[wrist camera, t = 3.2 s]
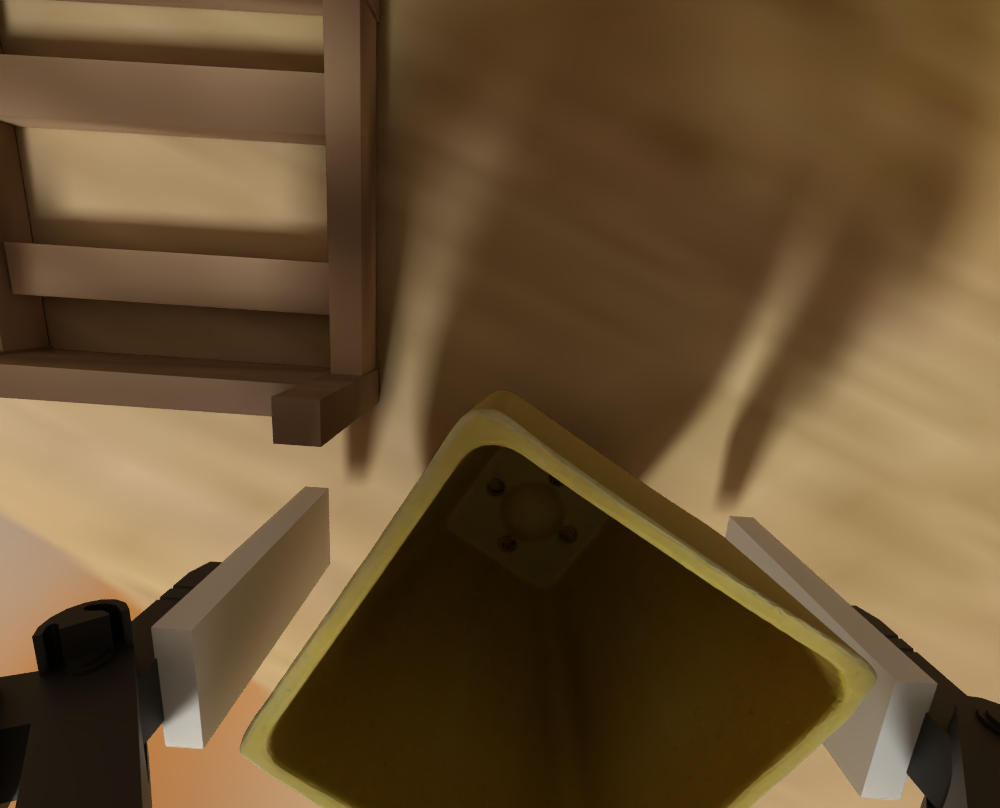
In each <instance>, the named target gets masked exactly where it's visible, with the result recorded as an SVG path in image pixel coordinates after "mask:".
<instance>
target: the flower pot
mask: <svg viewBox="0 0 1000 808" xmlns="http://www.w3.org/2000/svg"><path fill="white" fill-rule="evenodd" d="M550 475H552V476H553V477H555V478H556V479H557V480H559V481H560V482H562V483H560V484H555V483H553V482H552V481H551V480H550ZM494 479H498V480H500V481H501V482H502V483H503V485H504V488H503V490H502V491H501V492H499V493H494V492H491V491H490V489H489V487H488V484H489V482H490V481H491V480H494ZM565 527H571V528H573V529H574V530H575V535H574V536H573V538H571V539H569V540H565V539H563V538H561V536H560V531H561V530H562V529H563V528H565ZM504 536H510V537H512V538H513V539H514V541H515V543H514V546H513V547H511V548H503V547H502V546H501V545H500V539H501V538H502V537H504ZM877 678H878V677H877V674H876V672H875V670H874V668H873V667H872V666H871V665H870V664H869V663H868V661H867V660H866V659H864V658H863V657H862V656H861V655H860V654H858V653H857V652H856V651H855V650H854V649H852V648H851V647H850V646H849V645H848V644H847V643H845V642H844V641H843V640H842V639H841V638H840V637H839V636H837V635H836V634H835V633H834V632H833V631H832V630H831V629H829V628H828V627H827V626H826V625H825V624H824V623H823V622H821V621H820V620H819V619H818V618H817V617H816V616H815V615H813V614H812V613H811V612H810V611H809V610H808V609H807V608H805V607H804V606H803V605H802V604H801V603H800V602H799V601H797V600H796V599H795V598H794V597H793V596H792V595H791V594H789V593H788V592H787V591H786V590H785V589H784V588H783V587H781V586H780V585H779V584H778V583H777V582H776V581H774V580H773V579H772V578H771V577H770V576H769V575H768V574H766V573H765V572H764V571H763V570H762V569H761V568H759V567H758V566H757V565H756V564H755V563H754V562H752V561H751V560H750V559H749V558H748V557H747V556H745V555H744V554H743V553H742V552H741V551H740V550H738V549H737V548H736V547H735V546H734V545H733V544H732V543H730V542H729V541H728V540H727V539H726V538H724V537H723V536H722V535H721V534H719V533H718V532H716V531H715V530H713V529H712V528H711V527H709V526H708V525H706V524H705V523H703V522H702V521H700V520H699V519H697V518H696V517H694V516H693V515H691V514H689V513H688V512H686V511H685V510H683V509H682V508H680V507H679V506H677V505H676V504H674V503H673V502H671V501H670V500H668V499H667V498H665V497H663V496H662V495H661V494H659V493H658V492H656V491H655V490H653V489H652V488H650V487H649V486H647V485H646V484H644V483H643V482H641V481H640V480H638V479H637V478H635V477H634V476H632V475H631V474H629V473H628V472H626V471H625V470H623V469H622V468H621V467H619V466H618V465H616V464H615V463H613V462H612V461H610V460H609V459H608V458H606V457H605V456H603V455H602V454H600V453H599V452H597V451H596V450H595V449H593V448H592V447H590V446H589V445H587V444H586V443H585V442H583V441H582V440H580V439H579V438H577V437H576V436H575V435H573V434H572V433H570V432H569V431H567V430H566V429H564V428H563V427H562V426H560V425H559V424H557V423H556V422H555V421H553V420H552V419H550V418H549V417H548V416H546V415H545V414H543V413H542V412H541V411H539V410H538V409H536V408H535V407H534V406H532V405H531V404H530V403H528V402H527V401H525V400H524V399H522V398H521V397H519V396H518V395H516V394H514V393H512V392H509V391H507V390H500V391H496V392H494V393H492V394H490V395H488V396H487V397H486V398H485V399H483V400H482V401H481V402H480V403H478V404H477V405H476V406H475V407H474V408H472V409H471V410H470V411H469V412H468V413H467V414H465V415H464V416H463V417H461V418H460V419H459V421H458V422H457V423H456V424H455V426H454V427H453V428H452V430H451V431H450V433H449V434H448V436H447V437H446V439H445V440H444V442H443V443H442V445H441V447H440V448H439V450H438V451H437V453H436V454H435V456H434V457H433V459H432V460H431V462H430V464H429V465H428V467H427V468H426V470H425V471H424V473H423V474H422V476H421V477H420V478H419V480H418V481H417V483H416V484H415V486H414V487H413V489H412V490H411V492H410V493H409V495H408V496H407V498H406V499H405V501H404V502H403V504H402V505H401V507H400V508H399V510H398V511H397V512H396V514H395V515H394V517H393V518H392V520H391V521H390V523H389V524H388V526H387V527H386V529H385V530H384V532H383V533H382V535H381V536H380V538H379V539H378V541H377V542H376V544H375V545H374V547H373V548H372V550H371V551H370V553H369V554H368V556H367V557H366V558H365V560H364V561H363V563H362V564H361V565H360V567H359V568H358V570H357V571H356V573H355V574H354V575H353V577H352V578H351V580H350V581H349V583H348V584H347V586H346V587H345V588H344V590H343V591H342V593H341V594H340V596H339V597H338V599H337V600H336V602H335V603H334V604H333V606H332V607H331V609H330V610H329V612H328V613H327V614H326V616H325V617H324V619H323V620H322V622H321V623H320V624H319V626H318V627H317V629H316V630H315V632H314V633H313V635H312V636H311V637H310V639H309V640H308V642H307V643H306V645H305V646H304V647H303V649H302V650H301V652H300V653H299V655H298V656H297V658H296V659H295V660H294V662H293V663H292V665H291V666H290V668H289V669H288V671H287V672H286V674H285V675H284V677H283V678H282V679H281V681H280V682H279V683H278V685H277V686H276V688H275V690H274V691H273V692H272V694H271V695H270V697H269V698H268V699H267V701H266V702H265V704H264V705H263V706H262V708H261V709H260V710H259V712H258V713H257V714H256V716H255V717H254V719H253V720H252V722H251V724H250V725H249V727H248V729H247V730H246V732H245V734H244V736H243V739H242V742H241V745H240V753H241V754H242V755H243V756H244V757H245V758H246V759H248V760H249V761H251V762H252V763H253V764H255V765H256V766H257V767H259V768H260V769H262V770H263V771H264V772H266V773H267V774H268V775H270V776H271V777H273V778H275V779H276V780H278V781H279V782H281V783H282V784H284V785H286V786H287V787H289V788H291V789H292V790H294V791H296V792H297V793H299V794H301V795H302V796H304V797H306V798H308V799H309V800H311V801H312V802H314V803H316V804H317V805H319V806H321V807H323V808H750V807H751V806H752V805H753V804H754V803H755V802H756V801H757V800H758V799H760V798H761V797H762V796H763V795H764V794H765V793H766V792H767V791H769V790H770V789H771V788H772V787H773V786H774V785H776V784H777V783H778V782H779V781H781V780H782V779H783V778H784V777H785V776H787V775H788V774H789V773H790V772H791V771H792V770H793V769H794V768H795V767H796V766H798V765H799V764H800V763H801V762H802V761H803V760H804V759H805V758H807V757H808V756H809V755H810V754H811V753H812V752H813V751H815V750H816V749H817V748H818V747H819V746H820V745H821V744H822V743H823V742H824V741H825V740H826V739H827V738H828V737H829V736H830V735H831V734H833V733H834V732H835V731H836V730H837V729H838V728H839V727H841V726H842V725H843V724H844V723H845V722H846V721H847V720H848V719H849V718H850V717H851V716H852V715H853V714H854V713H855V711H856V710H857V709H858V707H859V706H860V704H861V703H862V702H863V700H864V699H865V698H866V696H867V695H868V694H869V692H870V691H871V689H872V688H873V686H874V684H875V683H876V680H877Z"/></svg>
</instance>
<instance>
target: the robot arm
mask: <svg viewBox="0 0 1000 808" xmlns="http://www.w3.org/2000/svg"><path fill="white" fill-rule="evenodd" d="M725 538H726V539H727V540H728V541H729V542H730V543H732V544H733V545H734V546H735V547H736V548H737V549H738V550H740V551H741V552H742V553H743V554H744V555H745V556H747V557H748V558H749V559H750V560H751V561H752V562H754V563H755V564H756V565H757V566H758V567H759V568H761V569H762V570H763V571H764V572H765V573H766V574H768V575H769V576H770V577H771V578H772V579H773V580H774V581H776V582H777V583H778V584H779V585H780V586H781V587H783V588H784V589H785V590H786V591H787V592H788V593H789V594H791V595H792V596H793V597H794V598H795V599H796V600H797V601H799V602H800V603H801V604H802V605H803V606H804V607H805V608H807V609H808V610H809V611H810V612H811V613H812V614H813V615H815V616H816V617H817V618H818V619H819V620H820V621H821V622H823V623H824V624H825V625H826V626H827V627H828V628H829V629H831V630H832V631H833V632H834V633H835V634H836V635H837V636H839V637H840V638H841V639H842V640H843V641H844V642H845V643H847V644H848V645H849V646H850V647H851V648H852V649H854V650H855V651H856V652H857V653H858V654H860V655H861V656H862V657H863V658H864V659H866V660H867V661H868V663H869V664H870V665H871V666H872V667H873V668H874V670H875V672H876V674H877V677H878V678H877V680H876V683H875V684H874V686H873V688H872V689H871V691H870V692H869V694H868V695H867V696H866V698H865V699H864V700H863V702H862V703H861V704H860V706H859V707H858V709H857V710H856V711H855V713H854V714H853V715H852V716H851V717H850V718H849V719H848V720H847V721H846V722H845V723H844V724H843V725H842V726H841V727H839V728H838V729H837V730H836V731H835V732H834V733H833V734H831V735H830V736H829V737H828V738H827V739H826V740H825V741H824V742H823V745H824V746H825V748H826V749H827V750H828V752H829V753H830V755H831V756H832V758H833V759H834V760H835V762H836V763H837V765H838V766H839V768H840V769H841V770H842V772H843V773H844V775H845V776H846V778H847V779H848V780H849V782H850V783H851V785H852V786H853V787H854V789H855V790H856V792H857V793H858V795H859V796H860V797H861V798H875V799H888V800H900V797H901V794H902V791H903V788H904V785H905V782H906V779H907V775H908V776H909V777H910V778H911V779H912V780H913V782H914V783H915V784H916V785H917V786H918V788H919V789H920V790H921V791H922V792H923V794H924V795H925V796H924V798H923V801H922V804H921V807H920V808H1000V704H997V703H995V702H992V701H989V700H986V699H983V698H978V697H971V696H967V695H966V694H964V693H963V692H962V691H961V690H960V689H959V688H958V687H956V686H955V685H954V684H953V683H952V682H951V681H949V680H948V679H947V678H946V677H945V676H944V675H943V674H941V673H940V672H939V671H938V670H937V669H936V668H935V667H933V666H932V665H931V664H930V663H929V662H928V661H926V660H925V659H924V658H923V657H922V656H921V655H920V654H918V653H917V652H914V651H913V648H911V647H910V646H909V645H908V644H907V643H906V642H905V641H903V640H902V639H899V638H898V635H897V634H895V633H894V632H893V631H892V630H891V629H890V628H888V627H887V626H886V625H885V624H884V623H883V622H882V621H880V620H879V619H877V618H876V617H874V616H872V615H871V614H869V613H867V612H866V611H864V610H862V609H861V608H859V607H857V606H852V605H850V604H849V603H847V602H846V601H845V600H844V599H843V598H842V597H841V596H840V595H839V594H837V593H836V592H835V591H834V590H833V589H832V588H831V587H830V586H829V585H827V584H826V583H825V582H824V581H823V580H822V579H821V578H820V577H819V576H817V575H816V574H815V573H814V572H813V571H812V570H811V569H810V568H809V567H807V566H806V565H805V564H804V563H803V562H802V561H801V560H800V559H799V558H797V557H796V556H795V555H794V554H793V553H792V552H791V551H790V550H789V549H787V548H786V547H785V546H784V545H783V544H782V543H781V542H780V541H779V540H777V539H776V538H775V537H774V536H773V535H772V534H771V533H770V532H769V531H767V530H766V529H765V528H764V527H763V526H762V525H761V524H760V523H759V522H757V521H756V520H755V519H754V518H752V517H737V516H729V521H728V527H727V532H726V537H725ZM329 564H330V535H329V488H318V487H304V488H303V489H302V490H301V491H300V492H299V493H298V494H297V495H296V496H294V497H293V498H292V499H291V500H290V501H289V502H288V503H287V504H286V505H285V506H284V507H282V508H281V509H280V510H279V511H278V512H277V513H276V514H275V515H274V516H273V517H271V518H270V519H269V520H268V521H267V522H266V523H265V524H264V525H263V526H262V527H260V528H259V529H258V530H257V531H256V532H255V533H254V534H253V535H252V536H251V537H250V538H248V539H247V540H246V541H245V542H244V543H243V544H242V545H241V546H240V547H239V548H237V549H236V550H235V551H234V552H233V553H232V554H231V555H230V556H229V557H228V558H226V559H225V560H224V561H223V562H209V563H207V564H205V565H203V566H201V567H199V568H197V569H195V570H193V571H191V572H189V573H188V574H187V575H186V576H184V577H183V578H182V579H181V580H180V581H179V582H177V583H176V584H175V585H174V586H173V589H169V590H168V591H167V592H166V593H164V594H163V595H162V596H161V597H160V600H156V601H155V602H154V603H153V604H151V605H150V606H149V607H148V608H147V609H146V610H144V611H143V612H142V613H141V614H140V615H139V616H137V617H136V618H135V619H134V620H133V621H131V619H130V611H129V608H128V606H127V604H126V603H125V602H122V601H119V600H116V599H110V600H108V599H107V600H97V601H92V602H87V603H83V604H80V605H77V606H74V607H71V608H69V609H66V610H64V611H62V612H60V613H58V614H56V615H54V616H53V617H51V618H49V619H48V620H47V621H46V622H44V623H43V624H42V625H40V626H39V627H38V628H37V630H36V632H35V633H34V635H33V636H32V638H33V644H34V649H35V654H36V660H37V665H38V670H39V671H36V672H30V673H24V674H18V675H11V676H5V677H0V808H8V806H9V804H10V802H11V801H15V800H17V802H16V807H15V808H152V799H151V783H150V769H149V756H148V747H147V741H148V739H149V738H150V737H151V736H152V734H153V733H154V732H155V731H156V730H157V728H158V727H159V726H160V725H161V724H162V722H163V730H164V737H165V746H170V747H171V746H172V747H184V748H185V747H186V748H198V749H199V748H200V749H203V748H204V747H205V746H206V744H207V743H208V741H209V740H210V738H211V737H212V735H213V734H214V733H215V731H216V730H217V728H218V727H219V725H220V724H221V722H222V721H223V719H224V718H225V716H226V715H227V713H228V712H229V710H230V709H231V708H232V706H233V705H234V703H235V702H236V700H237V699H238V697H239V696H240V695H241V693H242V692H243V690H244V689H245V687H246V686H247V684H248V683H249V681H250V680H251V678H252V677H253V676H254V674H255V673H256V671H257V670H258V668H259V667H260V665H261V664H262V662H263V661H264V659H265V658H266V657H267V655H268V654H269V652H270V651H271V649H272V648H273V646H274V645H275V643H276V642H277V640H278V639H279V638H280V636H281V635H282V633H283V632H284V630H285V629H286V627H287V626H288V624H289V623H290V621H291V620H292V619H293V617H294V616H295V614H296V613H297V611H298V610H299V608H300V607H301V605H302V604H303V602H304V601H305V600H306V598H307V597H308V595H309V594H310V592H311V591H312V589H313V588H314V586H315V585H316V583H317V582H318V580H319V579H320V578H321V576H322V575H323V573H324V572H325V570H326V569H327V567H328V566H329Z"/></svg>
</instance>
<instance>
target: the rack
mask: <svg viewBox="0 0 1000 808" xmlns="http://www.w3.org/2000/svg"><path fill="white" fill-rule="evenodd" d="M58 1H75V2H93V3H110V4H128V5H145V6H163V7H180V8H198V9H215V10H233V11H250V12H268V13H285V14H303V15H320V16H323V35H324V73H313V72H296V71H279V70H262V69H245V68H228V67H211V66H194V65H177V64H160V63H143V62H126V61H109V60H92V59H75V58H58V57H41V56H24V55H8V54H2V51H1V44H0V397H3V398H17V399H31V400H46V401H60V402H74V403H89V404H103V405H117V406H131V407H146V408H160V409H174V410H189V411H203V412H217V413H232V414H246V415H260V416H272V426H273V444H288V445H302V446H316V447H321V446H323V445H324V444H325V443H327V442H328V441H329V440H330V439H332V438H333V437H334V436H336V435H337V434H338V433H339V432H341V431H342V430H343V429H345V428H346V427H347V426H348V425H350V424H351V423H352V422H353V421H355V420H356V419H357V418H359V417H360V416H361V415H362V414H364V413H365V412H366V411H368V410H369V409H370V408H371V407H373V406H374V405H375V404H377V403H378V400H379V369H377V368H376V23H380V0H58ZM14 125H15V126H21V127H37V128H54V129H70V130H86V131H103V132H119V133H135V134H152V135H168V136H184V137H201V138H217V139H233V140H250V141H266V142H282V143H299V144H315V145H326V176H327V223H328V263H324V262H308V261H293V260H277V259H262V258H247V257H231V256H216V255H200V254H185V253H170V252H154V251H139V250H123V249H108V248H93V247H77V246H62V245H46V244H33V242H32V236H31V230H30V224H29V218H28V211H27V205H26V199H25V193H24V187H23V180H22V174H21V168H20V162H19V156H18V150H17V143H16V137H15V131H14ZM41 296H52V297H67V298H82V299H97V300H112V301H127V302H142V303H157V304H172V305H187V306H202V307H218V308H233V309H248V310H263V311H278V312H293V313H308V314H323V315H329V317H330V364H331V368H321V367H307V366H292V365H277V364H263V363H248V362H233V361H219V360H204V359H190V358H175V357H160V356H146V355H131V354H116V353H102V352H87V351H72V350H58V349H52V346H49V341H48V335H47V329H46V323H45V316H44V310H43V304H42V298H41Z"/></svg>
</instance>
